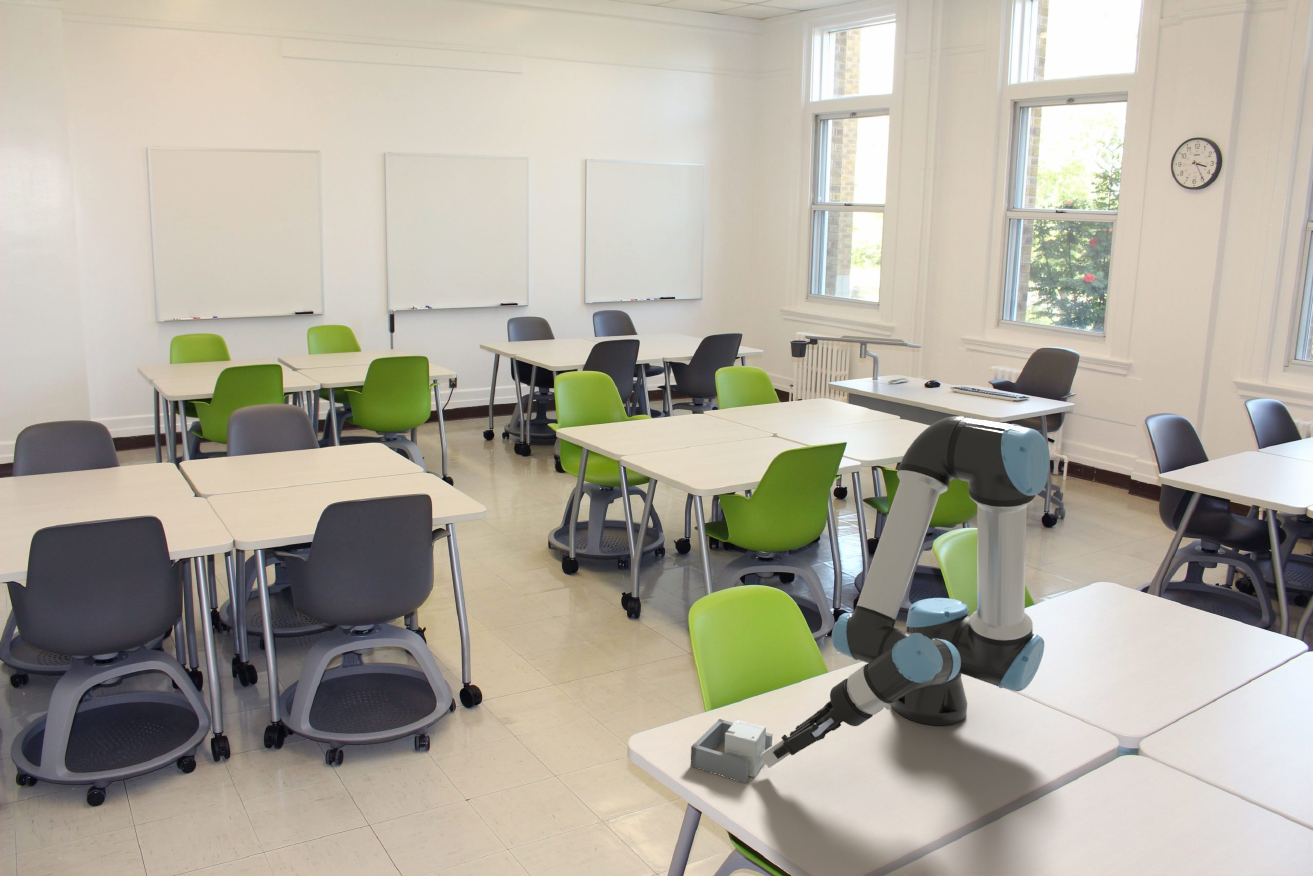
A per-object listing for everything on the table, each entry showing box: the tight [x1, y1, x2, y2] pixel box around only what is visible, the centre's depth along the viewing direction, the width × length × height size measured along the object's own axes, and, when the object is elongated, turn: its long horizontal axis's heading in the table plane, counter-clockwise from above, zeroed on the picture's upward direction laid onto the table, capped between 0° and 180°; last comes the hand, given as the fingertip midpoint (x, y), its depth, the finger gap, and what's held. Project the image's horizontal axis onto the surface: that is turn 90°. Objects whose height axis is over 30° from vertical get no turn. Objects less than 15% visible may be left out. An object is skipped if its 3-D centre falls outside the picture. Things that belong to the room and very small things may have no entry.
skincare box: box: [724, 719, 767, 778], centre depth 185 cm, size 6×6×7 cm
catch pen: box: [690, 718, 773, 784], centre depth 187 cm, size 12×11×4 cm
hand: (766, 760), depth 182 cm, fingers closed
